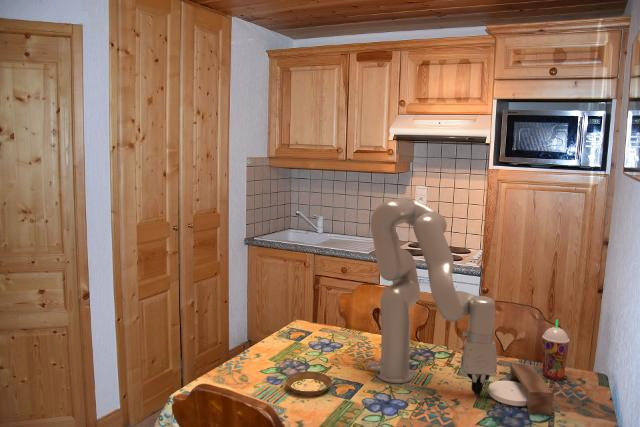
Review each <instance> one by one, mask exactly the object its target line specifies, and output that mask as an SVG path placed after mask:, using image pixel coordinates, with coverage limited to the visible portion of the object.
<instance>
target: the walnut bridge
mask: <svg viewBox="0 0 640 427" xmlns="http://www.w3.org/2000/svg"><path fill="white" fill-rule="evenodd" d="M509 367H510V368H509V381H513V382H517V383H521V384H522V385H523V386H524V388H525V389H526V391H527V392H528V405H526V408H527V409H526V412H527V413H528V414H529V415H530V414H531V415H548V416H551V415H552V413H553V401H554V399H553V398H554V392H553V391H552V390H551V388H550V387H549V385H548V384H547V383H546V382H545V381H544V379H543V378H542V377H541V376H540V375H539V373H538V372H537V371H536V369H535V368H534V367H533V365H531V364H521V363H520V364H516V363H510V366H509Z"/></svg>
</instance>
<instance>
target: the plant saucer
mask: <svg viewBox="0 0 640 427" xmlns="http://www.w3.org/2000/svg"><path fill="white" fill-rule="evenodd" d="M303 379H314V380H318V381H321V382H323V383H324V384H325V385H326V388H325V389H322V390H318V391H300V390H296V389H294V388H292V387H291V385H292V384H293V383H294V382H296V381H299V380H303ZM285 384H286V385H287V387H288V389H290V390H291V391H293V393H295V394H297V395H299V394H301V395H300V396H304V395H314V396H319V395H321V394H323V393H325V392H326V391H327V390H328V389H329V388H330V387H331V386H332V384H333V380H332V378H331V377H330V376H328V375H327V374H326V373H325V374H324V373H322V372H318V371H317V372H316V371H299V372H295V373H293V374H290V375H289V376H287V377H286V378H285ZM318 394H319V395H318Z"/></svg>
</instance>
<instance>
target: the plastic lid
mask: <svg viewBox="0 0 640 427" xmlns="http://www.w3.org/2000/svg"><path fill="white" fill-rule="evenodd" d="M487 390H488V392H487V393H488V395H489V396H490V397H491V398H492V399H493V400H495V401H497V402H499V403H502V404H504V405H508V406H509V405H510V406H514V407H527V405H528V392H527V391H526V389H525V388H524V386H523V385H522V384H521V383H517V382H513V381H510V380H496V381H493V382H491V383H489V385H488V389H487Z"/></svg>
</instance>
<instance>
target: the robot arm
mask: <svg viewBox="0 0 640 427" xmlns="http://www.w3.org/2000/svg"><path fill="white" fill-rule="evenodd" d="M402 224H407V225H408V226H411V227H412V230H413V233H414V236H415V238H416V240H417V244H418V246H419V248H420V250H421V251H420V252H421V253H422V256H423V258H424V262H425V263H426V267H427V274H428V275H427V276H428V281H429V287H430V291H431V295H432V299H433V301H434V303H435V305H436V308H437V311H438V312H439V314H440V316H441V317H442V318H443V319H444V320H446V321H448V322H450V323H454V322H459V321H460V320H461V319H462V318H463V317H465V316H468V323H467V331H462V337H465V340H464V343H463V347H462V351H461V359H460V367H461V368H460V369H459V370H460V371H459V372H460V375H463V376H465V377H468V378H469V379H470V380H471V391H472V392H473V393H474V395H475V396H476V395H478V396H480V395H481V393H482V391H483V385H484V383H485V381H486V380H487V379H488V378H491V377H496V376H497V371H498V370H497V369H498V357H497V356H498V355H497V345H496V342H495V340H494V327H495V316H496V301H495V300H494V299H493V298H492V297H489V296H485V295H476V294H472V293H468V292H466V291H463V290H462V291H461V290H456V288H455V285H454V280H453V267H454V256H453V254H452V253H453V252H452V251H451V249H450V246H449V244H448V242H447V238H446V236H445V232H446V231H447V226H448V225H447V220H446V218H445V217H444V216H443V215H442V213H439V212H438V211H436V210H434V209H432V208H430V207H428V206H427V205H425V204H422V203H420V202H418V201H417V200H414V199H412V198H409V197H398V198H394V199H393V198H392V199H389V200H386V201H384V202H382V203H381V204H380V205H378V206H377V207H376V208H375V209H374V211H373V212H372V215H371V217H370V231H371V237H372V242H373V247H374V252H375V257H376V264H377V270H378V273H379V275H380V277H381V278H382V279H383V280H385V281H388V282H392V284H390V285H388V286H387V287H385V289H384V290H383V291H382V293H381V296H380V300H379V303H380V304H379V306H380V312H381V337H380V338H381V343H380V344H381V345H380V348H381V349H380V358H379V359H378V361H376V362H375V361H374V362H372V361H367V362H366V364H367V366H366V368H369V369H370V371H375V376H376V377H377V378H378V379H380V380H381V381H384V382H386V383H390V384H391V383H392V384H404V383H408V382H410V381H412V380H413V378H414V372H413V371H412V370H411V369H410V350H411V348H410V347H411V346H410V345H411V316H410V308H411V307H413V306H414V305H415V304H416V303H417V302H418V301H419V299H420V296H421V290H420V289H421V288H420V283H419V276H418V272H417V265H416V262H415V258H414V256H413V255H412V254H411V253H410V251H409V250H407V249H405V248H401V244H400V243H401V242H400V237H399V234H398V233H397V230H396V227H397V226H398V225H402ZM477 375H478V377H477Z"/></svg>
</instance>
